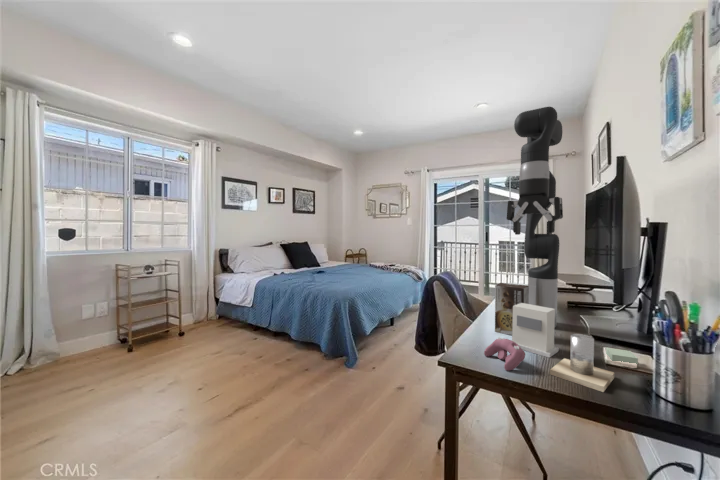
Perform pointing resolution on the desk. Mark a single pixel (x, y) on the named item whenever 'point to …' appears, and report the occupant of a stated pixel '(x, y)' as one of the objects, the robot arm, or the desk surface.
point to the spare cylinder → (582, 354)
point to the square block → (621, 355)
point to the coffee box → (508, 304)
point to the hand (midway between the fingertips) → (532, 234)
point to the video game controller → (502, 348)
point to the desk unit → (534, 329)
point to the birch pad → (583, 376)
